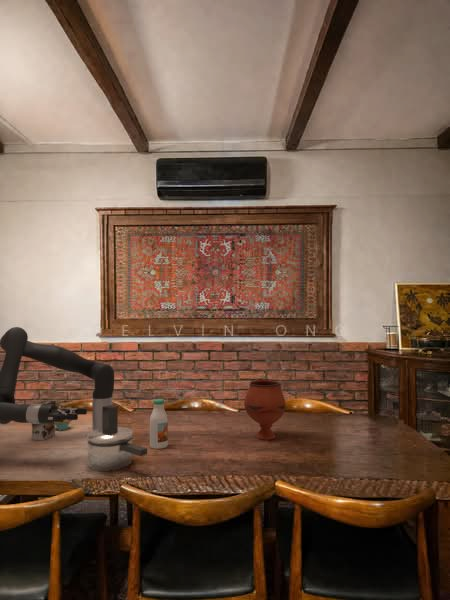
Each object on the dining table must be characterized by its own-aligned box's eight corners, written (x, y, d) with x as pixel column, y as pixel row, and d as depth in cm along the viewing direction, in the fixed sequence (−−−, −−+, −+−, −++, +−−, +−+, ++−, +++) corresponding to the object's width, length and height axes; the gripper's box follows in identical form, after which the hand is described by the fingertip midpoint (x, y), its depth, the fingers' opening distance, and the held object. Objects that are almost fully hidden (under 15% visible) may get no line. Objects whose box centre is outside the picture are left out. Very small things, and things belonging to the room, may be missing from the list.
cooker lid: (114, 428, 173) (114, 400, 173) (141, 435, 162) (141, 405, 163) (77, 438, 160) (77, 407, 160) (104, 446, 149) (104, 414, 149)
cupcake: (49, 430, 206) (49, 406, 206) (60, 426, 214) (60, 402, 215) (65, 431, 204) (65, 407, 204) (75, 427, 212) (75, 403, 213)
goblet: (256, 429, 206) (255, 378, 207) (292, 434, 196) (292, 380, 197) (237, 439, 190) (236, 383, 190) (276, 446, 180) (275, 387, 181)
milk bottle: (150, 450, 176) (150, 402, 176) (149, 444, 183) (148, 398, 184) (169, 448, 178) (168, 400, 178) (166, 443, 185) (166, 397, 186)
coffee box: (43, 440, 190) (44, 404, 191) (31, 439, 191) (31, 404, 192) (55, 434, 199) (56, 400, 200) (43, 434, 200) (44, 400, 201)
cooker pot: (114, 453, 172) (114, 428, 173) (161, 468, 155) (161, 440, 155) (78, 464, 159) (79, 438, 160) (125, 482, 142) (125, 452, 143)
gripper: (32, 408, 156) (74, 408, 155) (50, 400, 171) (89, 400, 169) (32, 428, 156) (74, 429, 155) (50, 418, 170) (89, 419, 169)
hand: (82, 414), depth 162 cm, fingers open, 8 cm apart
